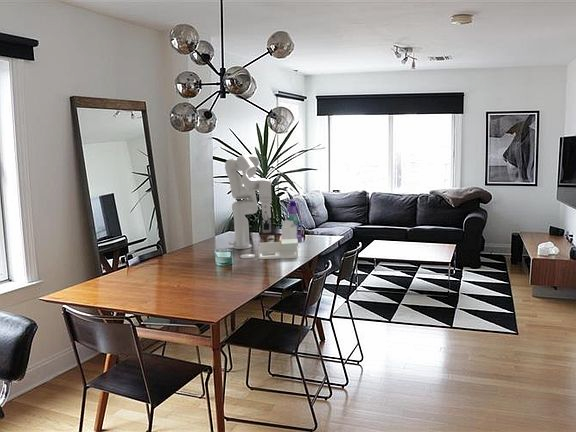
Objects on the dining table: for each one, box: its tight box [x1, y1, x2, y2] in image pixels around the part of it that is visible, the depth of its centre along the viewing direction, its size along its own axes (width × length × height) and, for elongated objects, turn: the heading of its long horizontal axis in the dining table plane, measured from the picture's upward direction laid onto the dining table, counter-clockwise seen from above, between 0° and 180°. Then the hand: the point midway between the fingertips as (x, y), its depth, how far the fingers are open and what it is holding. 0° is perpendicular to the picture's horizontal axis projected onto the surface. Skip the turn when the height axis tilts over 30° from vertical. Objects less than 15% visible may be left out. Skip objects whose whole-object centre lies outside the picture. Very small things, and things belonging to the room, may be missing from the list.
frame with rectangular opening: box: [257, 241, 299, 260], centre depth 351 cm, size 24×15×7 cm, turn 90°
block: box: [261, 219, 272, 234], centre depth 349 cm, size 5×5×7 cm
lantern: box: [285, 198, 303, 243], centre depth 397 cm, size 13×12×30 cm
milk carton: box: [280, 219, 298, 239], centre depth 370 cm, size 7×7×19 cm
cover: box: [279, 235, 299, 246], centre depth 350 cm, size 11×15×3 cm
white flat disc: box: [240, 253, 256, 260], centre depth 352 cm, size 9×9×1 cm
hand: (266, 228), depth 350 cm, fingers closed on block, 5 cm apart
